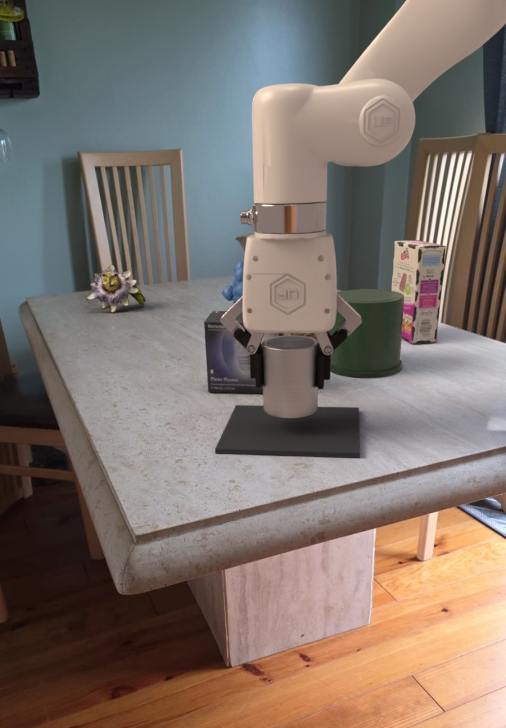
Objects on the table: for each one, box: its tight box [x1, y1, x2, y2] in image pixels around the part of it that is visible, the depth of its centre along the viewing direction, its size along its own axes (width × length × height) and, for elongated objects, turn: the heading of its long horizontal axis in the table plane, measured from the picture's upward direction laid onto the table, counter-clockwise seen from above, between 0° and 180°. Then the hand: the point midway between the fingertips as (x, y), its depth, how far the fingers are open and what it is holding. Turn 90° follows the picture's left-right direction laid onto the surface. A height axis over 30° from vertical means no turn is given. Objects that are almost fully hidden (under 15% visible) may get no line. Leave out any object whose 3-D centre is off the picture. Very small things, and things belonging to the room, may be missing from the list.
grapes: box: [221, 260, 244, 305], centre depth 127 cm, size 12×7×12 cm, turn 1°
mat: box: [214, 404, 361, 459], centre depth 75 cm, size 16×14×1 cm
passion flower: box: [86, 264, 147, 313], centre depth 144 cm, size 11×11×12 cm
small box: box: [203, 310, 283, 394], centre depth 88 cm, size 11×6×10 cm, turn 82°
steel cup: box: [262, 335, 320, 418], centre depth 72 cm, size 6×6×8 cm
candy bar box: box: [390, 239, 447, 345], centre depth 110 cm, size 11×5×16 cm, turn 10°
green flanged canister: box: [329, 288, 404, 379], centre depth 95 cm, size 12×12×11 cm
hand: (290, 383), depth 72 cm, fingers closed on steel cup, 6 cm apart
